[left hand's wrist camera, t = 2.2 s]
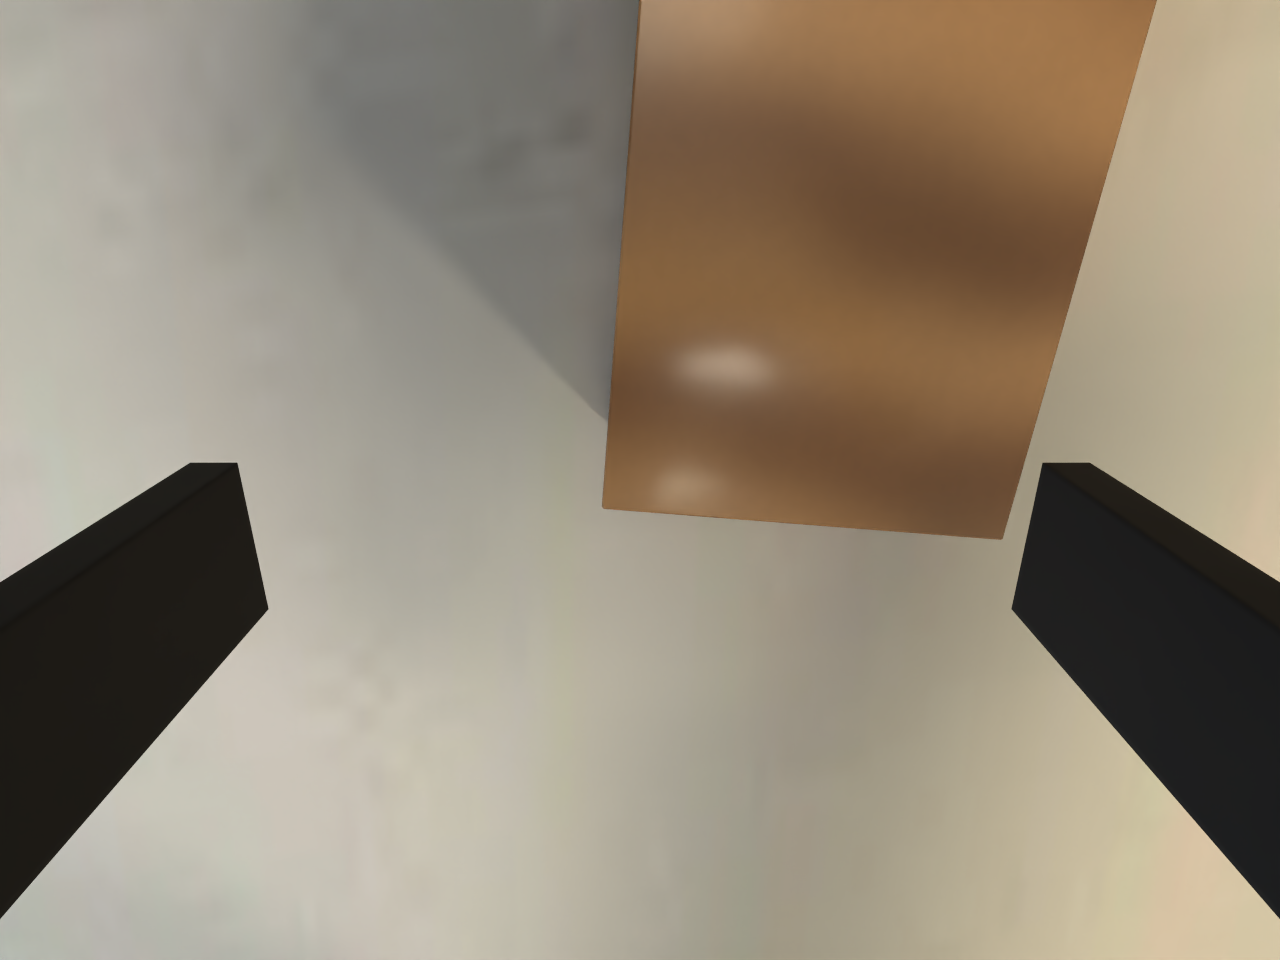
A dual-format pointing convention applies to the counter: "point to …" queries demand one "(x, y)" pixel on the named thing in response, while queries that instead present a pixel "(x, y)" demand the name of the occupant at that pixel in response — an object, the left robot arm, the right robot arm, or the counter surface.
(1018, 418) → the thick board
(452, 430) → the counter surface
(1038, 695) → the counter surface
